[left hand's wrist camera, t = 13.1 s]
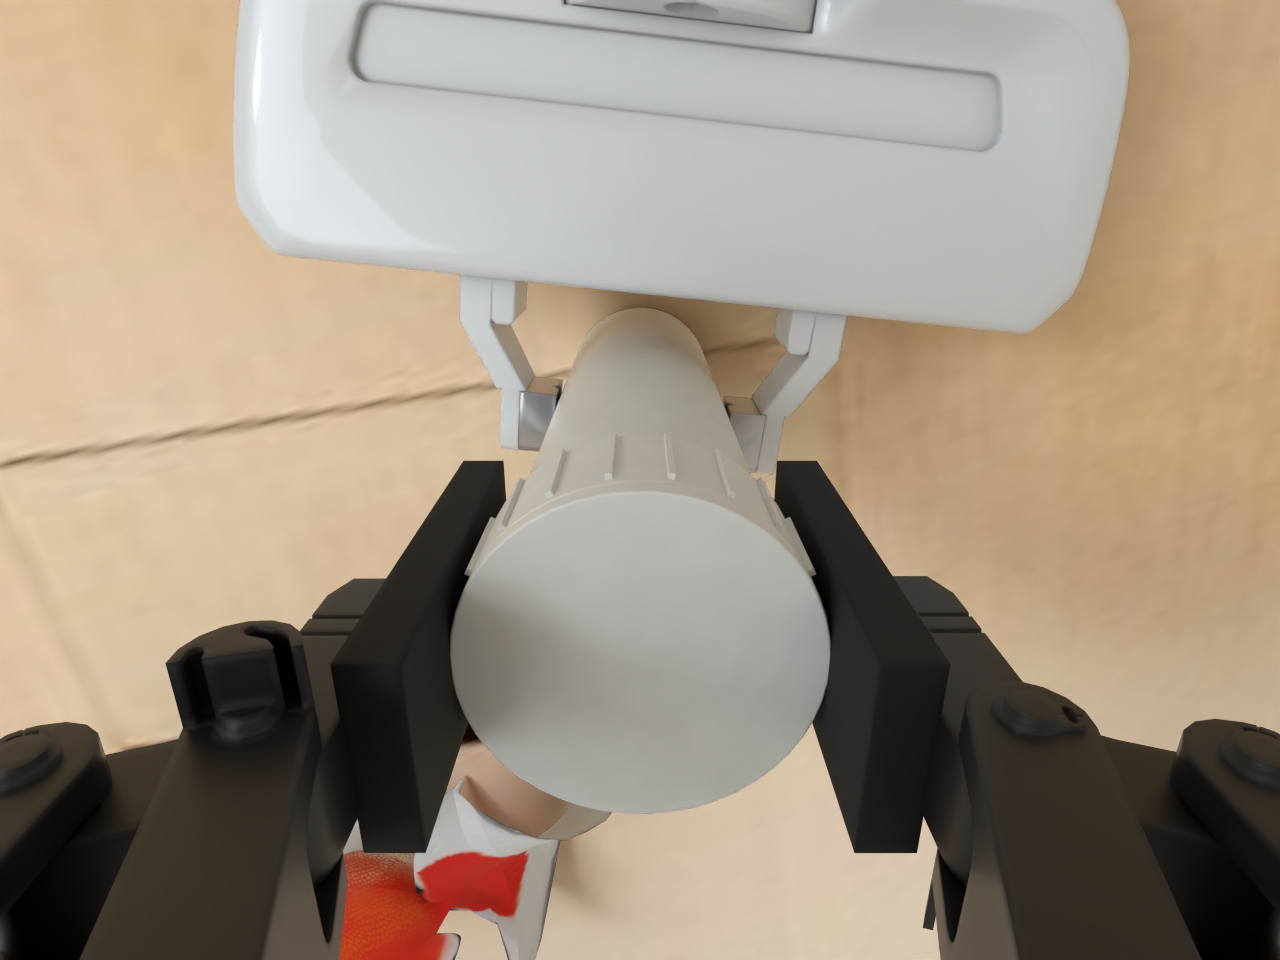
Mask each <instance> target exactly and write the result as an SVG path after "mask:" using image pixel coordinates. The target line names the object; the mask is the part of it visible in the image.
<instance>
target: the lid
mask: <svg viewBox="0 0 1280 960" xmlns="http://www.w3.org/2000/svg"><path fill="white" fill-rule="evenodd" d="M464 574H465V575H467V576H470V577H469V579H468V581H467V583H466V586H465V588H464V590H463V593H462V595H461V598H460V600H459V603H458V605H457V608H456V611H455V615H454V619H453V624H452V628H451V634H450V657H451V667H452V676H453V683H454V688H455V692H456V696H457V698H458V701H459V703H460V705H461V708H462V710H463V713H464V715H465V717H466V719H467V720H468V722H469V724H470V725H471V727H472V729H473V730H474V732H475V734H476V735H477V736H478V738H479V739H480V740H481V741H482V743H483V744H484V745H485V747H486V748H487V749H488V750H489V751H490V752H491V753H492V754H493V755H494V756H495V757H496V758H497V759H498V760H499V761H500V762H501V763H502V764H503V765H504V766H505V767H507V768H508V769H509V770H511V771H512V772H513V773H514V774H516V775H517V776H518V777H520V778H521V779H523V780H524V781H526V782H528V783H529V784H531V785H533V786H534V787H536V788H538V789H539V790H541V791H543V792H546V793H548V794H550V795H552V796H554V797H557V798H559V799H561V800H564V801H567V802H570V803H573V804H576V805H579V806H583V807H587V808H592V809H597V810H601V811H607V812H616V813H625V814H654V813H665V812H674V811H679V810H684V809H689V808H694V807H698V806H701V805H704V804H707V803H711V802H714V801H717V800H719V799H722V798H724V797H726V796H729V795H731V794H733V793H736V792H738V791H739V790H741V789H743V788H745V787H746V786H748V785H750V784H752V783H754V782H755V781H757V780H758V779H759V778H761V777H762V776H764V775H765V774H766V773H768V772H769V771H771V770H772V769H773V768H774V767H775V766H776V765H778V764H779V763H780V762H781V761H782V760H783V759H784V758H785V757H786V756H787V755H788V754H789V753H790V752H791V751H792V750H793V748H794V747H795V746H796V745H797V744H798V742H799V741H800V740H801V739H802V738H803V736H804V735H805V733H806V731H807V730H808V728H809V727H810V725H811V723H812V722H813V720H814V718H815V716H816V714H817V712H818V709H819V707H820V705H821V703H822V700H823V697H824V693H825V690H826V686H827V681H828V673H829V664H830V654H831V637H830V631H829V626H828V621H827V616H826V613H825V610H824V607H823V604H822V601H821V599H820V596H819V593H818V591H817V589H816V587H815V584H814V583H813V580H812V578H811V576H814V575H816V572H815V570H814V568H813V566H812V564H811V561H810V559H809V557H808V555H807V553H806V550H805V548H804V546H803V544H802V542H801V540H800V537H799V535H798V533H797V531H796V529H795V527H794V524H793V522H792V520H791V518H790V517H789V518H786V519H785V518H784V516H783V514H782V512H781V510H780V508H779V507H778V505H777V504H776V502H775V501H774V500H773V498H772V497H771V495H770V493H769V491H768V488H767V486H766V484H765V481H764V480H763V479H762V478H759V479H758V480H756V479H755V478H754V477H753V476H752V475H751V474H750V473H748V472H747V471H746V470H744V469H743V468H742V467H740V466H739V465H738V464H737V463H735V462H733V461H732V460H730V459H728V458H727V457H725V456H724V453H723V451H722V450H720V449H718V448H717V449H716V451H713V450H711V449H709V448H706V447H704V446H701V445H699V444H696V443H692V442H689V441H685V440H681V439H678V438H672V435H671V434H670V433H664V436H658V435H624V436H617V435H616V433H611V434H609V437H608V438H604V439H600V440H596V441H591V442H588V443H585V444H582V445H580V446H577V447H574V448H572V449H569V450H567V451H565V449H564V448H563V449H561V450H559V451H558V452H557V455H556V457H554V458H552V459H550V460H549V461H547V462H546V463H544V464H543V465H542V466H540V467H539V468H538V469H536V470H535V471H533V472H532V473H531V474H530V475H529V476H528V477H527V478H526V479H525V480H523V479H522V478H519V479H518V480H517V481H516V483H515V486H514V488H513V490H512V492H511V495H510V497H509V498H508V499H507V500H506V502H505V503H504V505H503V507H502V508H501V510H500V512H499V514H498V515H497V517H496V519H495V518H493V517H490V520H489V522H488V524H487V526H486V528H485V530H484V532H483V535H482V537H481V539H480V541H479V543H478V545H477V547H476V550H475V552H474V554H473V556H472V558H471V560H470V563H469V565H468V567H467V569H466V571H465V573H464Z"/></svg>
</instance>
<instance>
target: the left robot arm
mask: <svg viewBox="0 0 1280 960" xmlns="http://www.w3.org/2000/svg"><path fill="white" fill-rule="evenodd" d="M774 501H775V502H776V504H777V505H778V507H779V508H780V510H781V512H782V514H783V516H784V518H785V519H786V518H789V517H790V518H791V520H792V522H793V524H794V527H795V529H796V531H797V533H798V535H799V537H800V540H801V542H802V544H803V546H804V548H805V550H806V553H807V555H808V557H809V559H810V561H811V564H812V566H813V568H814V570H815V572H816V575H814V576H811V578H812V580H813V583H814V584H815V587H816V589H817V591H818V593H819V596H820V599H821V601H822V604H823V607H824V610H825V613H826V616H827V621H828V626H829V631H830V637H831V654H830V664H829V673H828V681H827V686H826V690H825V693H824V697H823V700H822V703H821V705H820V707H819V709H818V712H817V714H816V716H815V718H814V720H813V722H812V723H813V726H814V729H815V732H816V735H817V738H818V742H819V745H820V748H821V751H822V754H823V757H824V760H825V763H826V766H827V769H828V772H829V775H830V779H831V782H832V785H833V788H834V791H835V794H836V797H837V800H838V803H839V806H840V809H841V812H842V816H843V819H844V822H845V825H846V828H847V831H848V834H849V837H850V840H851V843H852V846H853V849H854V853H917V849H918V843H919V838H920V832H921V827H922V821H923V816H924V818H925V820H926V823H927V825H928V827H929V829H930V831H931V834H932V836H933V838H934V840H935V843H936V845H937V847H938V849H937V854H936V859H935V864H934V869H933V875H932V880H931V885H930V890H929V896H928V901H927V906H926V911H925V918H924V924H923V928H926V929H930V930H933V927H934V922H935V917H936V921H937V930H938V939H939V948H940V958H941V960H1280V734H1278V733H1276V732H1274V731H1271V730H1269V729H1266V728H1263V727H1260V728H1259V727H1257V726H1256V725H1252V724H1248V723H1244V722H1236V721H1228V720H1220V719H1211V720H1203V721H1195V722H1194V723H1192V724H1191V725H1190V726H1188V727H1187V728H1186V729H1184V731H1183V734H1182V737H1181V740H1180V743H1179V746H1178V749H1177V752H1174V751H1169V750H1164V749H1159V748H1154V747H1149V746H1145V745H1140V744H1135V743H1130V742H1125V741H1120V740H1116V739H1112V738H1109V737H1105V736H1101V735H1100V733H1099V731H1098V728H1097V727H1096V725H1095V724H1094V723H1093V721H1092V720H1091V719H1090V717H1089V716H1088V715H1087V713H1086V712H1085V711H1084V710H1082V709H1081V708H1080V707H1078V706H1077V705H1075V704H1074V703H1073V702H1071V701H1070V700H1069V699H1067V698H1066V697H1063V696H1061V695H1059V694H1057V693H1055V692H1052V691H1050V690H1048V689H1046V688H1044V687H1040V686H1036V685H1032V684H1028V683H1024V682H1022V680H1021V679H1020V678H1019V677H1018V675H1017V674H1016V673H1015V671H1014V670H1013V669H1012V668H1011V666H1010V665H1009V664H1008V662H1007V661H1006V660H1005V659H1004V657H1003V656H1002V655H1001V653H1000V652H999V651H998V650H997V648H996V647H995V646H994V645H993V643H992V642H991V641H990V639H989V638H988V637H987V636H986V634H985V633H981V628H980V627H979V625H978V624H977V623H976V621H975V620H974V619H973V618H972V617H969V615H968V614H969V613H968V611H967V610H966V609H965V607H964V606H963V605H962V604H961V602H960V601H959V600H958V598H957V597H956V596H955V595H954V593H952V592H951V591H949V590H948V589H946V588H944V587H943V586H941V585H940V584H938V583H937V582H935V581H933V580H932V579H930V578H929V577H927V576H892V575H891V573H890V572H889V570H888V568H887V567H886V565H885V564H884V562H883V561H882V559H881V558H880V556H879V555H878V553H877V552H876V550H875V549H874V547H873V546H872V544H871V543H870V541H869V540H868V538H867V537H866V535H865V534H864V532H863V530H862V529H861V527H860V526H859V524H858V523H857V521H856V520H855V518H854V517H853V515H852V514H851V512H850V511H849V509H848V508H847V506H846V505H845V503H844V502H843V500H842V499H841V497H840V495H839V494H838V492H837V491H836V489H835V488H834V486H833V485H832V483H831V482H830V480H829V479H828V477H827V476H826V474H825V473H824V471H823V470H822V468H821V467H820V465H819V464H818V462H817V461H777V470H776V484H775V499H774ZM505 502H506V492H505V477H504V463H503V461H463V463H462V464H461V466H460V467H459V469H458V470H457V472H456V473H455V475H454V476H453V478H452V480H451V481H450V483H449V484H448V486H447V487H446V489H445V490H444V492H443V493H442V495H441V496H440V498H439V499H438V501H437V502H436V504H435V505H434V507H433V508H432V510H431V511H430V513H429V515H428V516H427V518H426V519H425V521H424V522H423V524H422V525H421V527H420V528H419V530H418V531H417V533H416V534H415V536H414V537H413V539H412V540H411V542H410V543H409V545H408V546H407V548H406V550H405V551H404V553H403V554H402V556H401V557H400V559H399V560H398V562H397V563H396V565H395V566H394V568H393V569H392V571H391V572H390V574H389V575H388V577H387V578H386V579H353V580H351V581H350V582H348V583H346V584H345V585H343V586H342V587H340V588H339V589H337V590H336V591H334V592H332V593H331V594H329V595H328V596H327V597H326V598H325V600H324V601H323V602H322V603H321V605H320V606H319V607H318V609H317V610H316V611H315V612H314V614H313V615H312V619H309V620H308V621H307V623H306V624H305V625H304V627H303V628H302V629H301V631H298V630H297V629H296V628H294V627H293V626H292V625H290V624H286V623H281V622H277V621H248V622H243V623H239V624H234V625H229V626H225V627H221V628H219V629H216V630H214V631H211V632H209V633H206V634H204V635H201V636H199V637H197V638H195V639H194V640H192V641H191V642H189V643H187V644H186V645H184V646H183V647H181V648H179V649H178V650H177V651H176V652H175V653H174V655H173V656H172V657H171V658H170V659H169V660H168V661H167V662H166V667H167V670H168V674H169V678H170V681H171V685H172V689H173V692H174V696H175V700H176V703H177V707H178V711H179V714H180V718H181V722H182V725H183V730H182V732H181V734H180V736H179V739H177V740H173V741H169V742H165V743H161V744H156V745H152V746H147V747H142V748H137V749H132V750H127V751H123V752H118V753H113V754H108V755H105V753H104V750H103V747H102V744H101V741H100V738H99V735H98V733H97V732H96V731H94V730H93V729H92V728H90V727H89V726H88V725H85V724H77V723H69V722H63V723H55V724H47V725H40V726H35V727H31V728H27V729H25V730H23V731H22V730H20V731H17V732H14V733H11V734H9V735H6V736H4V737H3V738H1V739H0V960H340V950H341V941H342V932H343V923H344V914H345V905H346V896H347V887H348V877H347V871H346V864H345V859H344V854H343V850H344V847H345V845H346V843H347V841H348V839H349V836H350V834H351V832H352V830H353V827H354V825H355V823H356V821H357V819H358V824H359V830H360V835H361V841H362V846H363V852H364V853H426V851H427V848H428V845H429V842H430V839H431V835H432V832H433V829H434V826H435V823H436V820H437V817H438V814H439V811H440V808H441V805H442V802H443V798H444V795H445V792H446V789H447V786H448V783H449V780H450V777H451V774H452V771H453V768H454V765H455V761H456V758H457V755H458V752H459V749H460V746H461V743H462V740H463V737H464V734H465V731H466V728H467V724H468V720H467V719H466V717H465V715H464V713H463V710H462V708H461V705H460V703H459V701H458V698H457V696H456V692H455V688H454V683H453V676H452V667H451V657H450V634H451V628H452V624H453V619H454V615H455V611H456V608H457V605H458V603H459V600H460V598H461V595H462V593H463V590H464V588H465V586H466V583H467V581H468V579H469V577H470V576H467V575H465V574H464V573H465V571H466V569H467V567H468V565H469V563H470V560H471V558H472V556H473V554H474V552H475V550H476V547H477V545H478V543H479V541H480V539H481V537H482V535H483V532H484V530H485V528H486V526H487V524H488V522H489V520H490V517H493V518H495V519H496V517H497V515H498V514H499V512H500V510H501V508H502V507H503V505H504V503H505Z"/></svg>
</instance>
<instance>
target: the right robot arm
mask: <svg viewBox="0 0 1280 960" xmlns="http://www.w3.org/2000/svg"><path fill="white" fill-rule="evenodd" d="M239 1H240V7H239V17H238V29H237V43H236V57H235V74H234V102H233V155H234V182H235V194H236V199H237V204H238V206H239V209H240V211H241V213H242V214H243V216H244V217H245V218H246V220H247V221H248V222H249V224H250V225H251V226H252V228H253V229H254V230H255V232H256V233H257V234H258V236H259V237H260V238H261V239H262V241H263V242H264V243H265V244H266V246H267V247H268V248H269V249H270V250H271V251H272V252H274V253H276V254H278V255H281V256H288V257H296V258H305V259H315V260H324V261H334V262H343V263H353V264H362V265H372V266H381V267H391V268H400V269H410V270H419V271H429V272H438V273H448V274H457V275H460V322H461V324H462V326H463V328H464V329H465V331H466V333H467V335H468V337H469V339H470V340H471V342H472V344H473V346H474V348H475V350H476V351H477V353H478V355H479V357H480V359H481V360H482V362H483V364H484V366H485V368H486V370H487V371H488V373H489V375H490V377H491V379H492V380H493V382H494V384H495V386H496V388H499V389H501V417H500V445H501V448H504V449H510V450H517V451H518V450H526V451H538V452H539V450H540V448H541V445H542V443H543V440H544V438H545V435H546V432H547V430H548V427H549V425H550V422H551V420H552V417H553V415H554V412H555V410H556V407H557V404H558V402H559V399H560V397H561V394H562V382H563V380H561V379H552V378H544V377H536V376H534V375H535V374H534V372H533V370H532V368H531V366H530V364H529V362H528V360H527V358H526V356H525V354H524V352H523V349H522V347H521V345H520V343H519V341H518V339H517V337H516V335H515V333H514V331H513V329H512V327H511V325H510V324H511V323H512V322H514V321H515V320H516V319H517V318H518V317H519V316H520V315H521V314H522V313H523V312H524V311H525V310H526V301H527V284H528V282H533V283H543V284H552V285H562V286H571V287H581V288H590V289H600V290H609V291H619V292H628V293H638V294H647V295H657V296H666V297H676V298H685V299H695V300H704V301H714V302H723V303H733V304H742V305H752V306H761V307H771V308H778V309H777V316H776V322H775V329H774V336H775V338H776V339H777V340H778V341H779V342H780V343H781V344H782V345H783V346H784V347H785V348H786V349H787V351H786V352H785V354H784V355H783V356H782V358H781V359H780V360H779V361H778V363H777V364H776V365H775V367H774V368H773V369H772V371H771V372H770V373H769V375H768V376H767V377H766V378H765V380H764V381H763V382H762V384H761V385H760V386H759V388H758V389H757V390H756V391H755V393H754V394H753V395H752V398H743V397H730V396H724V399H723V405H724V407H725V410H726V412H727V415H728V418H729V420H730V423H731V425H732V428H733V430H734V433H735V435H736V438H737V441H738V443H739V446H740V448H741V451H742V453H743V456H744V458H745V461H746V463H747V466H748V469H749V471H750V473H758V474H768V475H771V474H772V473H773V472H774V469H775V466H776V462H777V456H778V451H779V445H780V440H781V434H782V429H783V423H784V417H790V416H791V415H792V414H793V412H794V411H795V410H796V409H797V408H798V407H799V406H800V404H801V403H802V402H803V401H804V400H805V399H806V397H807V396H808V395H809V394H810V393H811V392H812V390H813V389H814V388H815V387H816V386H817V385H818V384H819V382H820V381H821V380H822V379H823V378H824V377H825V375H826V374H827V373H828V372H829V371H830V370H831V368H832V367H833V366H834V365H835V364H836V363H837V362H838V360H839V356H840V351H841V346H842V341H843V336H844V331H845V327H846V322H847V317H848V316H856V317H866V318H875V319H885V320H894V321H904V322H913V323H923V324H932V325H942V326H951V327H961V328H970V329H979V330H989V331H999V332H1009V333H1019V334H1024V333H1029V332H1031V331H1033V330H1035V329H1036V328H1037V327H1038V326H1040V325H1041V324H1042V323H1044V322H1045V321H1046V320H1047V319H1048V318H1049V317H1050V316H1052V315H1053V314H1054V313H1055V312H1056V311H1057V310H1058V309H1059V308H1060V307H1061V306H1062V305H1063V304H1065V303H1066V302H1067V301H1068V300H1069V299H1070V298H1071V296H1072V295H1073V294H1074V292H1075V291H1076V288H1077V286H1078V284H1079V282H1080V280H1081V278H1082V275H1083V272H1084V269H1085V266H1086V263H1087V260H1088V257H1089V254H1090V251H1091V247H1092V244H1093V241H1094V237H1095V233H1096V230H1097V226H1098V223H1099V219H1100V216H1101V212H1102V208H1103V204H1104V200H1105V196H1106V192H1107V188H1108V185H1109V180H1110V176H1111V171H1112V167H1113V162H1114V158H1115V153H1116V149H1117V144H1118V139H1119V134H1120V129H1121V124H1122V119H1123V114H1124V108H1125V102H1126V96H1127V90H1128V81H1129V72H1130V47H1129V38H1128V31H1127V27H1126V23H1125V20H1124V17H1123V14H1122V12H1121V9H1120V7H1119V5H1118V4H1117V2H1116V1H1115V0H239Z"/></svg>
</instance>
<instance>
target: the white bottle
mask: <svg viewBox="0 0 1280 960" xmlns="http://www.w3.org/2000/svg"><path fill="white" fill-rule="evenodd" d="M611 433H616V435H617V436H624V435H658V436H664V433H670V434H671V435H672V438H678V439H681V440H685V441H689V442H692V443H696V444H699V445H701V446H704V447H706V448H709V449H711V450H713V451H716V449H717V448H718V449H720V450H722V451H723V453H724V456H725V457H727V458H728V459H730V460H732V461H733V462H735V463H737V464H738V465H739V466H740V467H742V468H743V469H744V470H746V471H747V472H748V473H750V471H749V469H748V466H747V463H746V461H745V458H744V456H743V453H742V451H741V448H740V446H739V443H738V441H737V438H736V435H735V433H734V430H733V428H732V425H731V423H730V420H729V418H728V415H727V412H726V410H725V407H724V405H723V402H722V400H721V397H720V395H719V392H718V389H717V387H716V384H715V382H714V379H713V377H712V374H711V372H710V369H709V367H708V364H707V361H706V359H705V356H704V354H703V351H702V349H701V346H700V344H699V342H698V340H697V339H696V337H695V336H694V334H693V333H692V332H691V331H690V329H689V328H688V327H687V326H686V325H685V324H683V323H682V322H681V321H680V320H678V319H677V318H675V317H673V316H672V315H670V314H667V313H665V312H663V311H659V310H656V309H650V308H631V309H625V310H622V311H618V312H616V313H613V314H611V315H609V316H608V317H606V318H604V319H603V320H601V321H600V322H599V323H597V324H596V325H595V326H594V327H593V328H592V329H591V330H590V332H589V333H588V334H587V336H586V337H585V339H584V340H583V342H582V344H581V346H580V349H579V351H578V354H577V356H576V359H575V361H574V364H573V366H572V369H571V371H570V374H569V377H568V379H567V382H566V384H565V387H564V389H563V392H562V394H561V397H560V399H559V402H558V404H557V407H556V410H555V412H554V415H553V417H552V420H551V422H550V425H549V427H548V430H547V432H546V435H545V438H544V440H543V443H542V445H541V448H540V450H539V453H538V455H537V458H536V460H535V463H534V466H533V468H532V471H531V473H532V472H533V471H535V470H536V469H538V468H539V467H540V466H542V465H543V464H544V463H546V462H547V461H549V460H550V459H552V458H554V457H556V455H557V452H558V451H559V450H561V449H563V448H564V449H565V451H567V450H569V449H572V448H574V447H577V446H580V445H582V444H585V443H588V442H591V441H596V440H600V439H604V438H608V437H609V434H611ZM531 473H530V474H531Z"/></svg>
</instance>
